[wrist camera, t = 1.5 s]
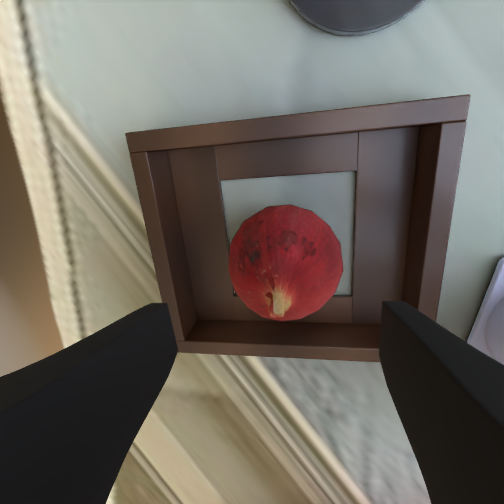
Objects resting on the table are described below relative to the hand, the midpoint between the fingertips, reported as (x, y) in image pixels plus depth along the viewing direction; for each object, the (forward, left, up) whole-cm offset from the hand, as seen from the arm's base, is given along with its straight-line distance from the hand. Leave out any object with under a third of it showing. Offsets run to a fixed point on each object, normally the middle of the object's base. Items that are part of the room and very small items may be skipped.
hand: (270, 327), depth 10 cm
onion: (0, 0, -10) cm, 10 cm away
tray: (0, 0, -10) cm, 10 cm away
